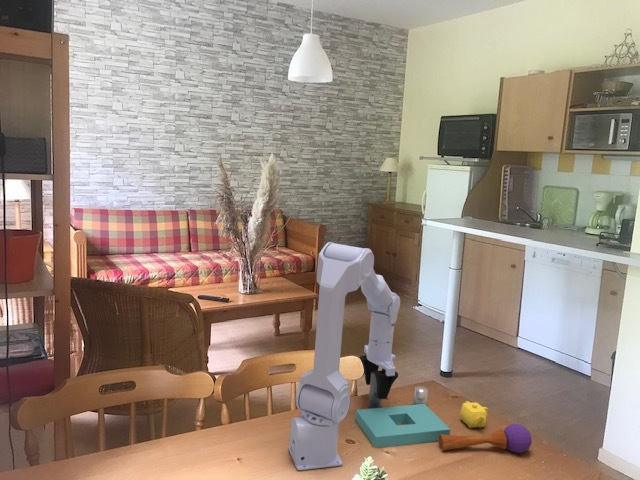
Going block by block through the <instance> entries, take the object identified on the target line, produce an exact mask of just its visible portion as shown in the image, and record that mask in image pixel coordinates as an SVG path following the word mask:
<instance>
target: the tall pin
mask: <svg viewBox="0 0 640 480" xmlns="http://www.w3.org/2000/svg"><path fill="white" fill-rule="evenodd" d="M375 371H377V370H375ZM368 391H369V392H368V393H369V394H368V402H367V403H368V405H367V407H368V408H367V409H372V408H382V402H383V401H382V400H383V399H378V396H377V381H376V377H375V374H374V371H372V372H371V380H370V385H369V390H368Z"/></svg>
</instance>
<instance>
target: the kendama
mask: <svg viewBox="0 0 640 480" xmlns="http://www.w3.org/2000/svg"><path fill="white" fill-rule="evenodd" d="M532 443H533V439H532V435H531V432H530V430H528V428H527V427H525V425H521V424H519V423H512V424H509V425H508V426H506V427H505V428H504V429H502V428H499V429H498V430H496V431H495V432H493V433H491V434H490V435H488V436H487V437H485V436H472V435H471V436H470V435H469V436H468V435H453V434H451V435H439V441H438V444H439V448H440V450H441V451H442V452H444V451H449V450H451V451H452V450H455V449H461V448H467V447H471V446H476V445H484V444H490V445H493V446H495V447H496V448H499V449H503V450H504V451H505V450H506V449H508V450H509V451H511V452H513V453H516V454H522V453H524V452H526V451H528V450H529V449H530V448H531V446H532Z"/></svg>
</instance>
